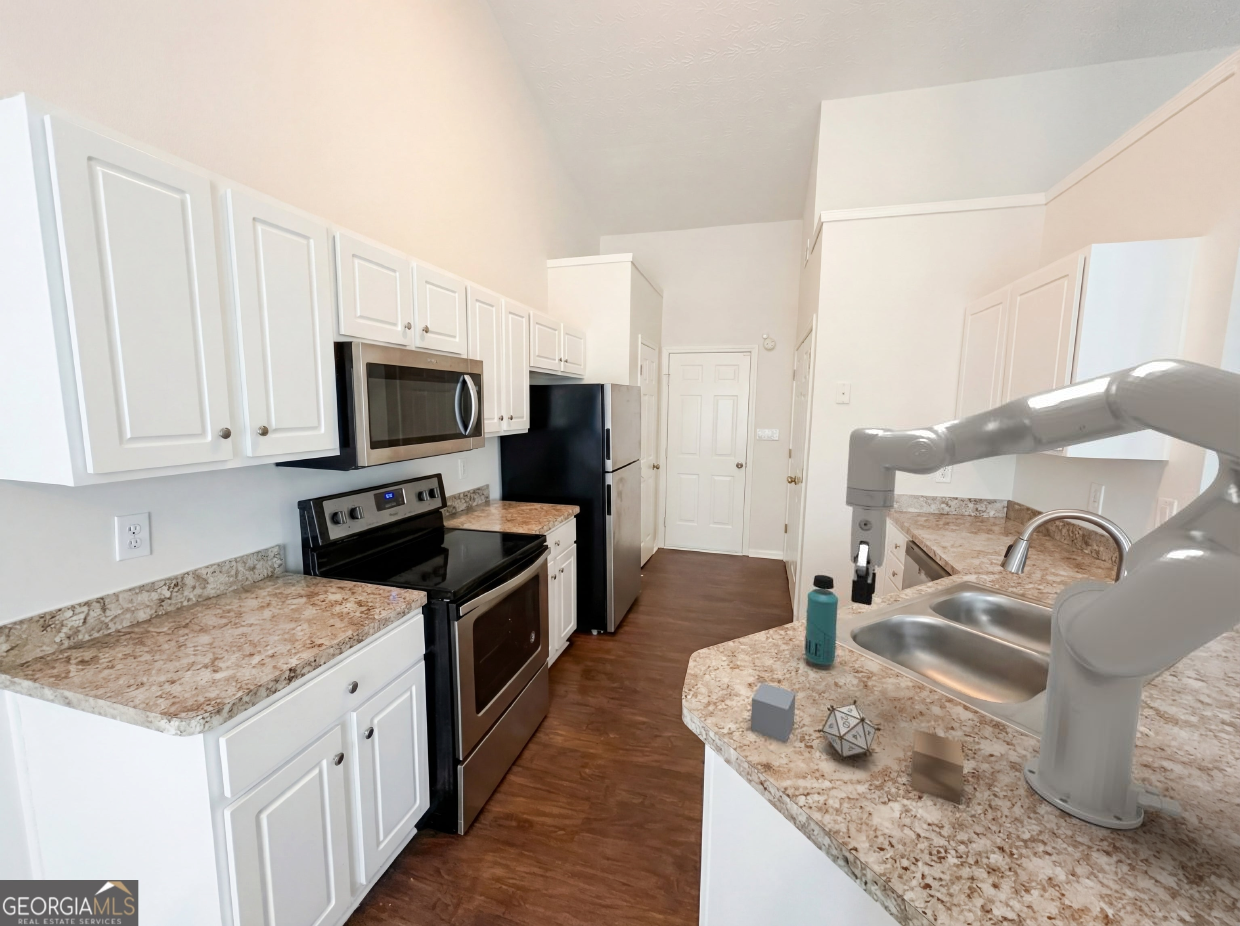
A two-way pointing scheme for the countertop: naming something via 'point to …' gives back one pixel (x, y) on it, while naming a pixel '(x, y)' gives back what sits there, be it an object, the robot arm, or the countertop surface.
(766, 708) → the slate block
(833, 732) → the game die
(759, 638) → the countertop surface
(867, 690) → the countertop surface
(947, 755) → the walnut block
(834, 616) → the beverage bottle
